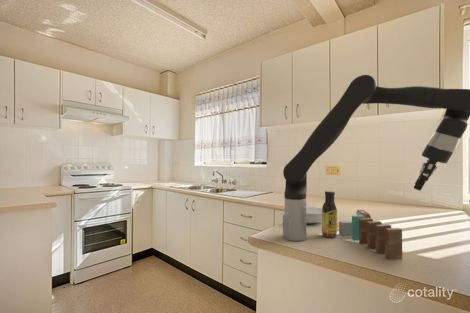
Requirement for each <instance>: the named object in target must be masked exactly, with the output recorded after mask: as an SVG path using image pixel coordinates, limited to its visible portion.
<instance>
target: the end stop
mask: <svg viewBox="0 0 470 313" xmlns="http://www.w3.org/2000/svg"><path fill="white" fill-rule="evenodd" d="M338 235H340V236H341V237H352V220H339V221H338Z"/></svg>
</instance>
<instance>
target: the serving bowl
mask: <svg viewBox="0 0 470 313" xmlns="http://www.w3.org/2000/svg"><path fill="white" fill-rule="evenodd" d="M319 222H320V223H321V222H322V208H321V207H318V206H317V207H316V206H309V205H306V225H307V224H315V223H319Z"/></svg>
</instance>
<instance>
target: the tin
mask: <svg viewBox="0 0 470 313" xmlns="http://www.w3.org/2000/svg"><path fill="white" fill-rule="evenodd" d="M355 213H356V216H358V215H363V216H365V218H372V216H371V214H370V213H369V212H368V211H366V210H365V209H357V210H356V212H355Z"/></svg>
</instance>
